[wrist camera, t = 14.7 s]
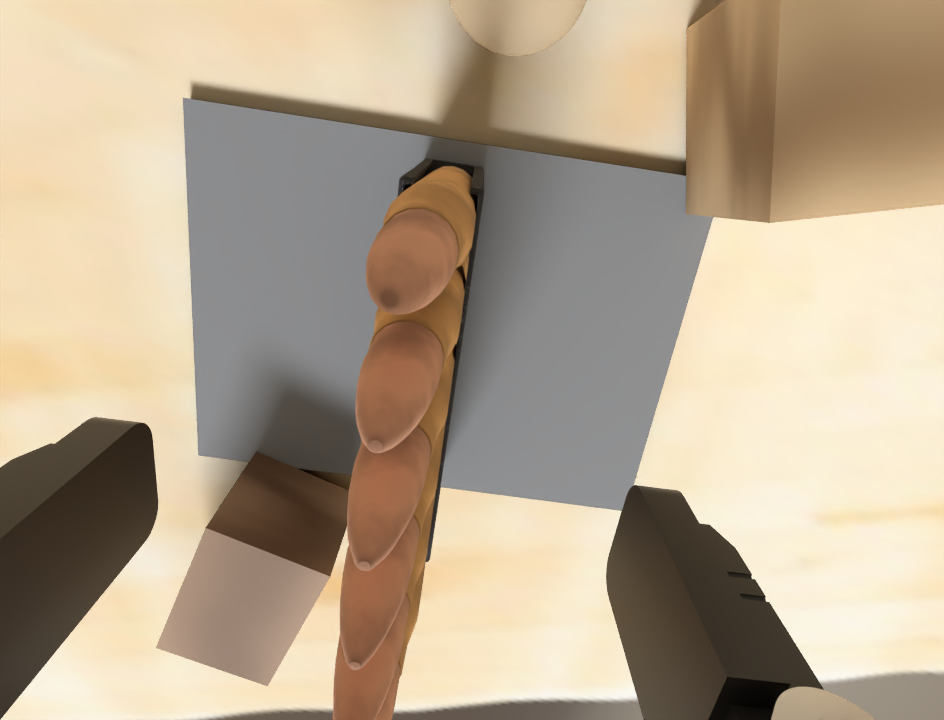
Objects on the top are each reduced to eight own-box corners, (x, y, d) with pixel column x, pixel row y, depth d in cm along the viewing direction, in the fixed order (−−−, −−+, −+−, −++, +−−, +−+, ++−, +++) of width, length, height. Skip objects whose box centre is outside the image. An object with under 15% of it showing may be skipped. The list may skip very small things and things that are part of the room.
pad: (189, 98, 16) (182, 97, 16) (718, 180, 17) (723, 181, 17) (203, 449, 21) (198, 455, 20) (622, 504, 21) (625, 511, 21)
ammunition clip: (423, 157, 16) (301, 189, 5) (485, 167, 17) (493, 220, 5) (390, 464, 20) (279, 856, 9) (440, 471, 20) (391, 868, 9)
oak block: (686, 28, 15) (782, -45, 11) (870, 7, 15) (1052, -79, 10) (685, 213, 17) (769, 222, 12) (853, 195, 17) (1006, 197, 12)
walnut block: (209, 559, 22) (155, 647, 19) (256, 451, 20) (205, 528, 17) (301, 594, 23) (267, 686, 20) (357, 494, 21) (330, 576, 17)
